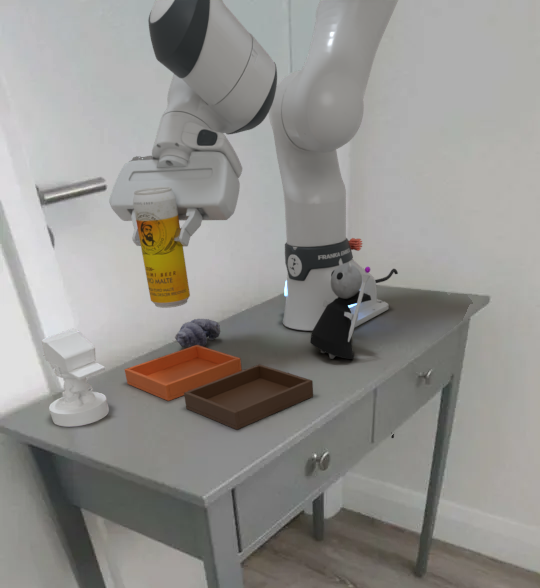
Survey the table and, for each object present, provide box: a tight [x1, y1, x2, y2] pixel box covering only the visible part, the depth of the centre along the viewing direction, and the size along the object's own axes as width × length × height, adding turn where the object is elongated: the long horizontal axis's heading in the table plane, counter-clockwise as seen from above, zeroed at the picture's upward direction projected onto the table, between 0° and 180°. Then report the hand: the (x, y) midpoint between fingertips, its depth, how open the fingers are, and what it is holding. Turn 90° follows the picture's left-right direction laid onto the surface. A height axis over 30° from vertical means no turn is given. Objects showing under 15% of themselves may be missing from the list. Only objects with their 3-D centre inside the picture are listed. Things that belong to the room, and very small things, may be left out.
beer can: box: [133, 187, 191, 309], centre depth 95 cm, size 6×6×15 cm
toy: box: [309, 258, 371, 360], centre depth 108 cm, size 12×7×15 cm, turn 22°
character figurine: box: [41, 328, 110, 428], centre depth 95 cm, size 9×10×12 cm
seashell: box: [174, 318, 221, 348], centre depth 120 cm, size 5×5×10 cm
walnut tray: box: [183, 363, 314, 430], centre depth 97 cm, size 15×12×2 cm
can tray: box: [124, 345, 243, 402], centre depth 108 cm, size 15×12×2 cm
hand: (159, 243), depth 94 cm, fingers closed on beer can, 6 cm apart
